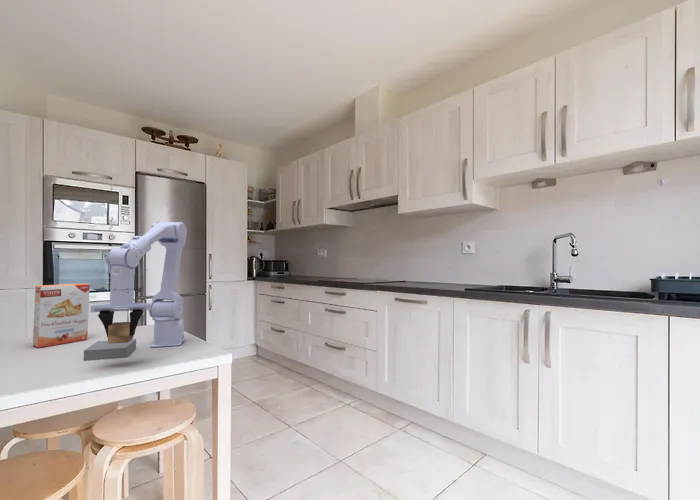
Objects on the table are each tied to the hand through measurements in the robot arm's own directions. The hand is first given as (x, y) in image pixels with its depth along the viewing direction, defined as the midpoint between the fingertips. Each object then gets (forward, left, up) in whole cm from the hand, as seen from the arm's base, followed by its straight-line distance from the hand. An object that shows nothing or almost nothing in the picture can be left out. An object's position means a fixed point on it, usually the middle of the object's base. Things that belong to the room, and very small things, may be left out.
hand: (121, 335), depth 95 cm
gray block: (+6, -13, -9) cm, 17 cm away
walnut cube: (0, 0, -1) cm, 1 cm away
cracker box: (+27, -33, -9) cm, 43 cm away
